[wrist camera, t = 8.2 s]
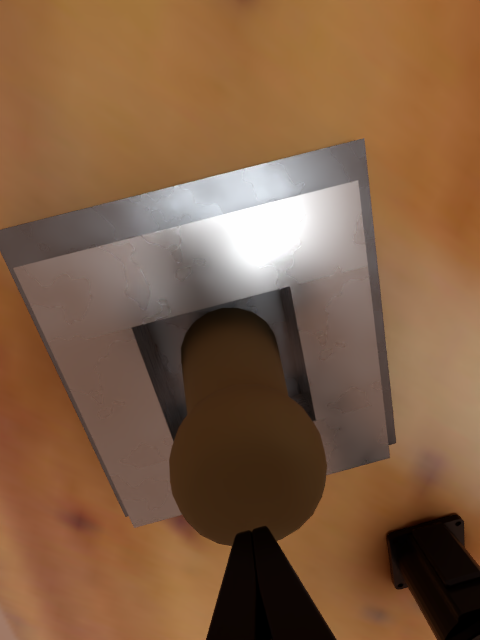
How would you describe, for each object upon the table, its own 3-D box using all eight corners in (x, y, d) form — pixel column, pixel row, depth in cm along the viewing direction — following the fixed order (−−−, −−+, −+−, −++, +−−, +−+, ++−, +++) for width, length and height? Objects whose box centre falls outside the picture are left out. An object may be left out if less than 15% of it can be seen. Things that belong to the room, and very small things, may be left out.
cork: (248, 411, 21) (289, 601, 10) (163, 375, 19) (111, 550, 9) (296, 334, 20) (397, 460, 9) (208, 289, 18) (208, 377, 8)
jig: (388, 434, 24) (423, 474, 20) (128, 505, 23) (113, 560, 20) (355, 143, 18) (396, 120, 14) (3, 231, 17) (-55, 233, 13)
